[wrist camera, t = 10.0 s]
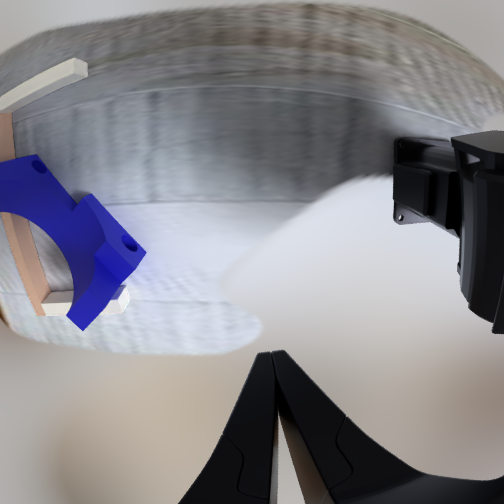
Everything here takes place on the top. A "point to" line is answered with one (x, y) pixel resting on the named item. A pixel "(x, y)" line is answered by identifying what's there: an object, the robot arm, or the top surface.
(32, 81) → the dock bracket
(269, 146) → the top surface
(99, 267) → the blue half clamp
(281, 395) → the robot arm
